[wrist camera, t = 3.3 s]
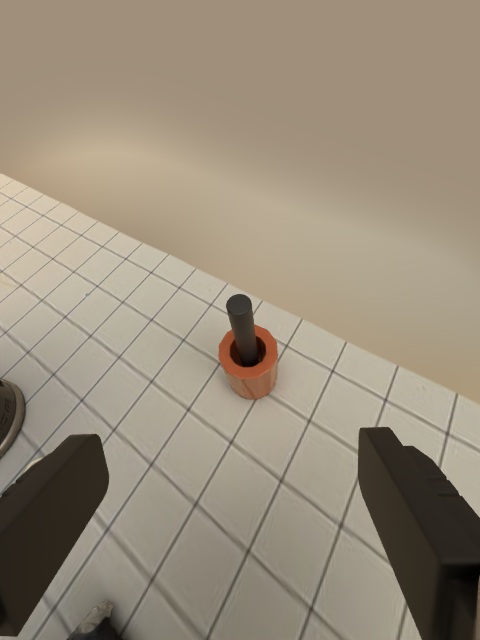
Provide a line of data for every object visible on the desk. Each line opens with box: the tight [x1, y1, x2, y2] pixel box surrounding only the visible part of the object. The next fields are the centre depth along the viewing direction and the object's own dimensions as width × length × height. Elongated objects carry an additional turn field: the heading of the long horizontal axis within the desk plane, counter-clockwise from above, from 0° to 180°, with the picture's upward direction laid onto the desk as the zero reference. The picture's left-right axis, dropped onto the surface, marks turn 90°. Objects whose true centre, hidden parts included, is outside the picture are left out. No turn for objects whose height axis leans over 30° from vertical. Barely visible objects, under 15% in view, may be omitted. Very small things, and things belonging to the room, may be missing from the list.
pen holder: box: [219, 325, 278, 399], centre depth 24 cm, size 5×5×6 cm
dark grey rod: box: [226, 294, 259, 367], centre depth 21 cm, size 2×2×12 cm
